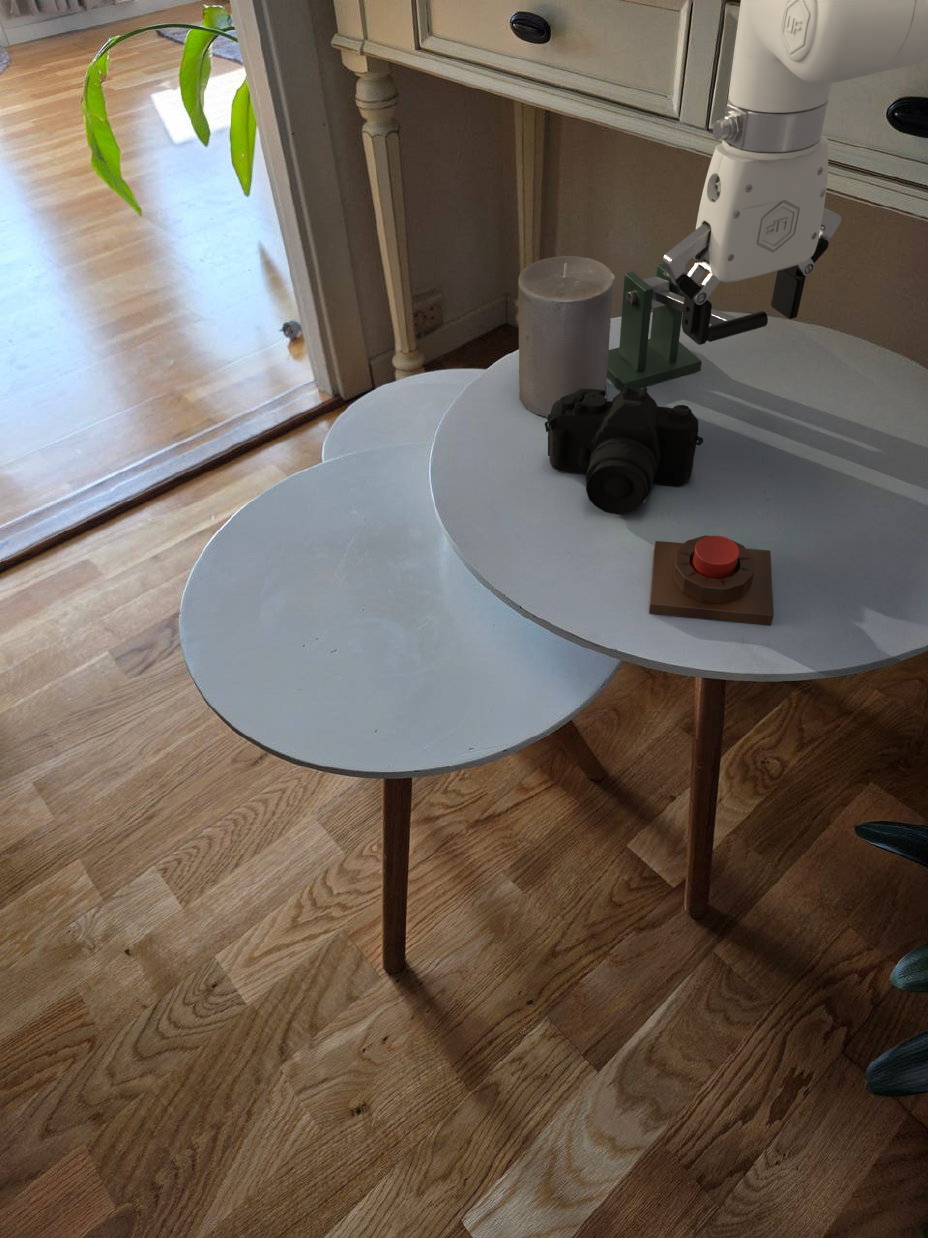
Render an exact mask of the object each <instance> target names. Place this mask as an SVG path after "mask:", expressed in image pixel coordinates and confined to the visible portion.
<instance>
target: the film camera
mask: <svg viewBox="0 0 928 1238" xmlns="http://www.w3.org/2000/svg"><path fill="white" fill-rule="evenodd" d="M648 390H649V389H648V386H644V387H642V388H632V387H628V385H625V386H624V389H623V391H622V392H621V391H620V392H619V393H618V394H617V395H615V396H613V398H612V400H608V399H607V398H606V396H607V391H606V392H605V390H599V389H580V390H578V391H576V392H574V393H572V394H569V395H566V396H564V397H562V398H561V399H560V400H558V401H556V402H555V403H554V405H553V406H552V409H551V413H550V414H549V415H548V417H547V420H546V421H545V422H544V427H545V432H546V433H547V456H548V458H549V459H548V460H549V464H550V466H551V467H552V469H553V470H555V471H557V472H562V473H569V474H578V475H585V491H586V495H587V498H588V500H589V502H591V504H593V506H595V507H596V508H598V509H599V510H601V511H603V512H604V513H607V514H612V515H617V516H618V515H620V516H621V515H628V514H631V513H634V512H636V511H637V510H638V509H640V508H641V507H642V506H643V505H644V503H645V501H646V500H647V499H648V497H649V496H650V494H651V492H652V488H653V485H654V484H655V485H660V486H661V485H663V486H668V487H669V486H670V487H682V486H684V485H685V484H687V483H688V482H689V481H690V479H691V478H692V474H693V468H694V461H695V460H694V459H695V455H696V448H697V446H701V445H702V444H703V443H704V442H705V441H704V438H703V437H701V436H699V431H700V429H699V426H700V425H699V420H698V418H697V417H696V416H695V414H694V413H693V411H692V409H691V408H690V407H689V406H687V405H685V404H678V405H674V406H673V407H671V408H670V407H666V406H659V405H658V404H657V402H656V401H655V399H654V398H653V397H651V395H650V394H649V393H648ZM604 396H605V397H604Z"/></svg>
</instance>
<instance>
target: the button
mask: <svg viewBox="0 0 928 1238" xmlns="http://www.w3.org/2000/svg"><path fill="white" fill-rule="evenodd" d="M706 536H707V537H704V538H702V539H700V540H699V541H698V542H697V544H696V546H695V551H694V556H693V567H694V569H695V570H696V571H697V572H698V573H699V574H701V575H703V576H705V577H707V578H714V579H723V578H727V577H729V576H730V575H732V574H733V573H734V571H735V569H736V565H737V561H738V557H739V549H738V546H737V545H736V544H735V543H734V542H733V541H734V540H733V539H731V538H728V537H726V536H721V535H706ZM732 540H733V541H732Z"/></svg>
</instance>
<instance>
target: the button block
mask: <svg viewBox="0 0 928 1238" xmlns="http://www.w3.org/2000/svg"><path fill="white" fill-rule="evenodd" d="M707 536H708V535H706V534H705V535H701V536H699V537H695V538H691V539H688V540H686V541H685V542H674V541H664V540H663V541H662V540H655V541H654V546H653V547H654V549H653V557H652V570H651V571H652V572H651V582H650V583H651V585H650V594H649V595H650V597H649V609H648V613H649V614H651V615H659V616H660V615H661V616H672V617H682V618H691V619H701V620H712V621H722V622H730V623H731V622H732V623H743V624H752V625H760V626H761V625H762V626H772V623H773V619H774V616H775V615H774V595H773V594H774V593H773V578H772V575H773V574H772V558H771V557H772V556H771V550H769V549H759V548H758V549H757V548H747V547H746V546H745V545H743V544H742V543H739V542H737V541H735V540H733V539H731V540H732V541H733V542H734V543H735V544H736V545H737V546H738V549H739V557H738V561H737V565H736V569H735V571H734V573H733V574H732V575H730V576H729V577H727V578H723V579H714V578H707V577H705V576H703V575H701V574H699V573H698V572H697V571H696V570H695V569H694V567H693V556H694V551H695V546H696V544H697V542H698V541H699V540H700V539H702V538H704V537H707Z"/></svg>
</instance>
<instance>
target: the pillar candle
mask: <svg viewBox="0 0 928 1238" xmlns="http://www.w3.org/2000/svg"><path fill="white" fill-rule="evenodd" d="M615 278H616V275H615V274H614V273H612V270H611V269H610V268H609V267H608V266H607V265H605V264H604V263H602V262H600V261H598V260H595V259H593V258H589V257H584V256H575V255H568V256H567V255H562V256H554V257H553V256H552V257H549V258H548V257H547V258H543V259H540V260H537V261H535V262H532V263H531V264H529V265H528V266H526V267H525V268H523V270H521V272H520V273H519V276H518V279H517V280H518V281H517V282H518V283H517V285H518V287H517V288H518V289H517V290H518V379H519V380H518V386H519V391H518V393H519V399H520V402H521V404H522V405H523V406H524V407H525V408H526V409H528V410H529V411H530V412H532V413H534V414H535V415H539V416H542V417H546V418H548V415H549V414H550V413H551V409H552V406H553V405H554V403H555V402H556V401H558V400H560V399H561V398H562V397H564V396H566V395H569V394H572V393H574V392H576V391H578V390H580V389H599V390H605V392H606V393H607V382H608V377H607V366H608V352H609V350H610V337H611V336H610V334H611V323H612V320H611V318H612V317H611V316H612V304H613V295H614V294H613V290H614V281H615V280H616V279H615ZM604 397H605V398H606V395H605V396H604Z"/></svg>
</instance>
